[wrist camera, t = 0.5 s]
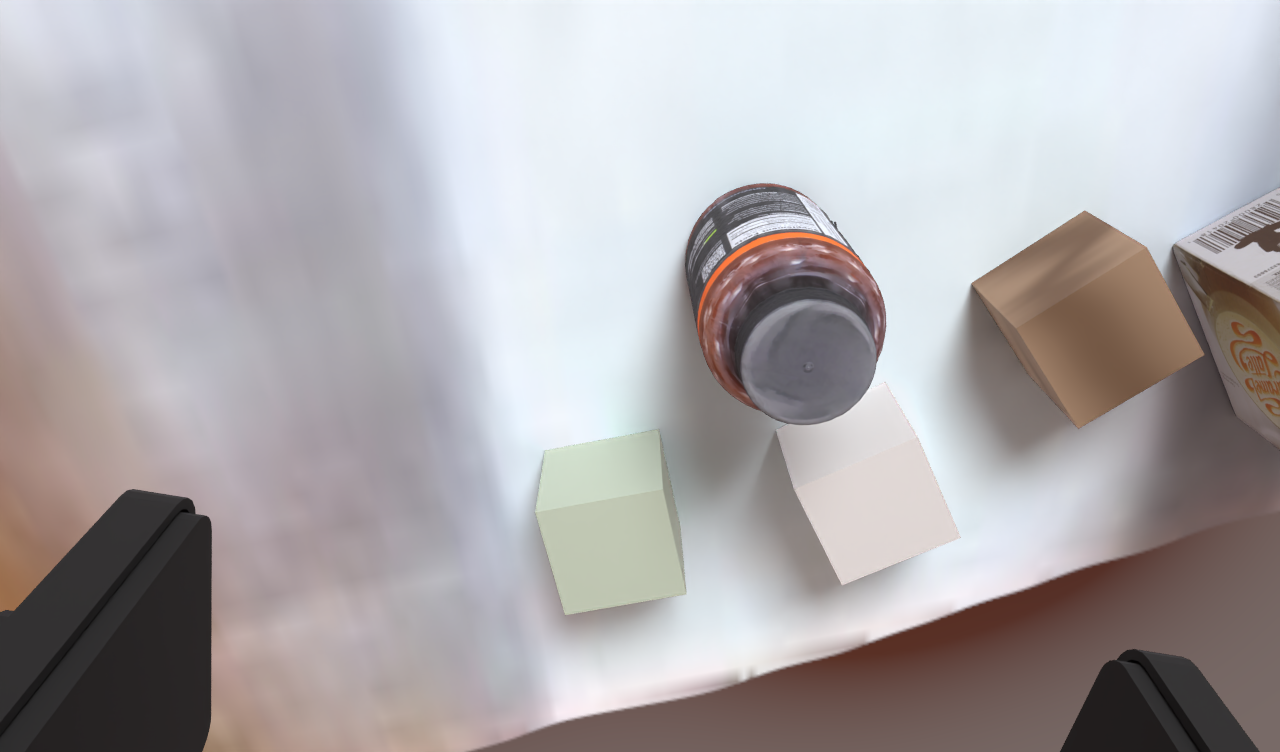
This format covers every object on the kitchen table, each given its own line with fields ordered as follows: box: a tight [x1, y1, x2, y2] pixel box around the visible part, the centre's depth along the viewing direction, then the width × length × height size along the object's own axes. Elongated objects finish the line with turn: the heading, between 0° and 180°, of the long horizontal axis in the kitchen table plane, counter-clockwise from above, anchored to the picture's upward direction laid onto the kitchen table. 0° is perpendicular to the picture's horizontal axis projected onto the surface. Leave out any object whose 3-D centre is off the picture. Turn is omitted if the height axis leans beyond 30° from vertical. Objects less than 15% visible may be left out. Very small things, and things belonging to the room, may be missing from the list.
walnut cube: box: [971, 211, 1204, 429], centre depth 37 cm, size 5×5×5 cm
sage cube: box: [535, 429, 686, 615], centre depth 41 cm, size 5×5×5 cm
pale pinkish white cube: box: [776, 382, 961, 585], centre depth 40 cm, size 5×5×5 cm
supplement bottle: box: [685, 184, 886, 425], centre depth 33 cm, size 6×6×11 cm
